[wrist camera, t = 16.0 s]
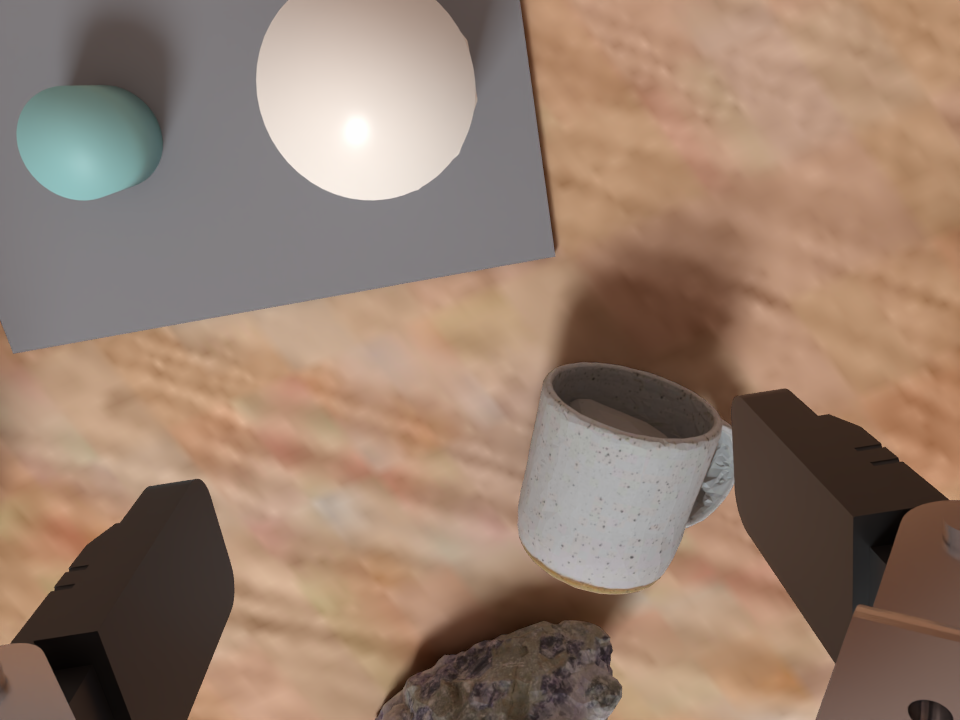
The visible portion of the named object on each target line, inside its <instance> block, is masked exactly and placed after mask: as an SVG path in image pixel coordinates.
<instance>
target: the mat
mask: <svg viewBox="0 0 960 720" xmlns="http://www.w3.org/2000/svg"><path fill="white" fill-rule="evenodd" d="M287 1H288V0H0V321H1V323H2V326H3V328H4V331H5V334H6V336H7V339H8V341H9V344H10V346H11V349H12V351H13V354H14V353H20V352H25V351H31V350H36V349H42V348H47V347H53V346H59V345H64V344H70V343H75V342H81V341H86V340H92V339H98V338H103V337H109V336H114V335H120V334H125V333H131V332H137V331H142V330H148V329H153V328H159V327H165V326H170V325H176V324H181V323H187V322H192V321H198V320H204V319H209V318H215V317H220V316H226V315H231V314H237V313H243V312H248V311H254V310H259V309H265V308H270V307H276V306H282V305H287V304H293V303H298V302H304V301H309V300H315V299H321V298H326V297H332V296H337V295H343V294H348V293H354V292H360V291H365V290H371V289H376V288H382V287H387V286H393V285H399V284H404V283H410V282H415V281H421V280H427V279H432V278H438V277H443V276H449V275H454V274H460V273H466V272H471V271H477V270H482V269H488V268H493V267H499V266H505V265H510V264H516V263H521V262H527V261H532V260H538V259H544V258H549V257H555V251H554V243H553V236H552V229H551V222H550V215H549V207H548V200H547V193H546V186H545V179H544V171H543V164H542V157H541V150H540V143H539V135H538V128H537V121H536V114H535V107H534V99H533V92H532V85H531V78H530V71H529V63H528V56H527V49H526V42H525V35H524V27H523V20H522V13H521V6H520V0H436V1H437V2H438V3H440V5H441V6H442V7H443V8H444V9H445V10H446V11H447V12H448V14H449V15H450V16H451V18H452V19H453V21H454V22H455V24H456V25H457V26H458V28H459V30H460V32H461V33H462V34H463V35H464V37H465V38H466V39H467V41H468V46H469V52H470V55H471V60H472V64H473V68H474V75H475V85H476V93H477V99H478V100H477V103H476V106H475V109H474V113H473V117H472V121H471V125H470V128H469V131H468V133H467V136H466V138H465V141H464V143H463V144H462V147H461V150H460V153H459V155H458V156H456V157H455V158H454V159H453V160H452V161H451V163H450V164H449V165H448V166H447V167H446V168H445V169H444V170H443V171H442V172H441V173H440V174H439V175H438V176H437V177H436V178H434V179H433V180H432V181H430V182H429V183H428V184H426V185H424V186H422V187H421V188H420V189H419V190H416V191H413V192H410V193H408V194H405V195H403V196H399V197H395V198H391V199H384V200H358V199H351V198H346V197H343V196H339V195H336V194H333V193H331V192H329V191H326V190H324V189H322V188H320V187H318V186H317V185H315V184H313V183H311V182H310V181H309V180H307V179H306V178H305V177H303V176H302V175H301V174H299V173H298V172H297V171H296V170H295V169H294V168H293V167H292V166H291V165H290V164H289V163H288V162H287V161H286V159H285V158H284V157H283V156H282V155H281V153H280V152H279V151H278V149H277V147H276V146H275V144H274V143H273V141H272V139H271V137H270V135H269V133H268V131H267V129H266V127H265V124H264V121H263V118H262V115H261V112H260V108H259V103H258V98H257V87H256V72H257V62H258V57H259V52H260V48H261V45H262V42H263V39H264V36H265V34H266V32H267V30H268V28H269V26H270V24H271V22H272V20H273V19H274V17H275V16H276V14H277V13H278V11H279V10H280V9H281V8H282V6H283V5H284V4H285V3H286V2H287ZM74 85H110V86H116V87H119V88H122V89H125V90H127V91H129V92H131V93H133V94H134V95H136V96H137V97H139V98H140V99H141V100H142V101H143V102H144V103H145V104H146V105H147V106H148V107H149V108H150V109H151V111H152V112H153V114H154V115H155V117H156V119H157V121H158V123H159V126H160V129H161V133H162V139H163V150H162V156H161V159H160V162H159V164H158V166H157V168H156V169H155V171H154V172H153V173H152V175H151V176H150V177H149V178H147V179H146V180H145V181H143V182H141V183H140V184H137V185H135V186H132V187H130V188H127V189H124V190H121V191H118V192H115V193H113V194H110V195H107V196H104V197H101V198H98V199H94V200H73V199H69V198H65V197H62V196H60V195H57V194H55V193H53V192H51V191H50V190H48V189H47V188H45V187H44V186H43V185H41V184H40V183H39V182H38V181H37V180H36V179H35V178H34V177H33V176H32V174H31V173H30V172H29V170H28V169H27V167H26V166H25V164H24V162H23V160H22V158H21V155H20V152H19V149H18V145H17V134H16V131H17V123H18V119H19V116H20V114H21V111H22V110H23V108H24V106H25V105H26V104H27V102H28V101H29V100H30V99H31V98H32V97H33V96H35V95H36V94H38V93H39V92H41V91H43V90H45V89H48V88H51V87H55V86H74Z"/></svg>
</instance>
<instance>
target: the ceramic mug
mask: <svg viewBox="0 0 960 720" xmlns="http://www.w3.org/2000/svg"><path fill="white" fill-rule="evenodd" d="M716 447H717V449H716ZM715 450H716V452H715ZM714 452H715V454H714ZM713 455H714V457H713ZM712 457H713V460H712ZM711 460H712V462H711ZM710 463H711V464H710ZM709 465H710V466H709ZM707 470H708V471H707ZM706 473H707V474H706ZM705 475H706V476H705ZM733 485H734V463H733V442H732V426H731V425H730V424H728V423H727V422H726V421H724V420H723V419H721V417H720V415H719V414H718V412H717V410H716V409H715V408H714V407H712V406H711V405H710V404H709V403H708V402H707V401H706V400H704V399H703V398H701V397H700V396H699V395H697V394H696V393H695V392H693V391H691V390H689V389H687V388H685V387H683V386H681V385H679V384H677V383H675V382H673V381H670V380H667V379H665V378H663V377H660V376H658V375H655V374H652V373H649V372H645V371H640V370H636V369H631V368H628V367H625V366H620V365H613V364H605V363H597V362H594V363H589V362H578V363H573V364H566V365H562V366H559V367H557V368H555V369H553V370H552V371H551V372H550V373H549V374H548V375H547V377H546V378H545V380H544V382H543V387H542V391H541V396H540V401H539V407H538V412H537V417H536V421H535V426H534V431H533V436H532V440H531V445H530V450H529V456H528V462H527V466H526V471H525V475H524V480H523V484H522V488H521V493H520V499H519V504H518V531H519V538H520V540H521V543H522V545H523V547H524V549H525V551H526V552H527V553H528V555H529V556H530V557H531V559H532V560H533V561H534V562H535V563H536V564H537V565H538V566H540V567H541V568H542V569H543V570H544V571H546V572H547V573H548V574H550V575H551V576H552V577H554V578H556V579H558V580H560V581H562V582H564V583H566V584H568V585H570V586H573V587H575V588H578V589H582V590H586V591H590V592H594V593H599V594H615V595H616V594H628V593H634V592H638V591H641V590H643V589H645V588H647V587H649V586H651V585H653V584H654V583H655V582H656V581H657V580H659V579H660V577H661V576H662V575H663V573H664V572H665V571H666V569H667V567H668V566H669V564H670V563H671V561H672V559H673V558H674V555H675V553H676V551H677V549H678V547H679V544H680V542H681V540H682V537H683V534H684V530H685V528H688V527H690V526H692V525H694V524H696V523H698V522H700V521H703V520H704V519H705V518H707V517H708V516H709V515H710V514H711V513H712V512H713V511H715V510H716V508H717V507H718V506H719V505H720V504H721V503H722V502H723V501H724V499H725V498H726V496H727V495H728V494H729V492H730V491H731V489H732V487H733Z"/></svg>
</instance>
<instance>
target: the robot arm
mask: <svg viewBox="0 0 960 720" xmlns="http://www.w3.org/2000/svg"><path fill="white" fill-rule="evenodd" d="M731 421H732V442H733V463H734V484H735V496H736V502H737V507H738V511H739V514H740V517H741V520H742V523H743V525H744V527H745V530H746V531H747V533H748V534H749V536H750V537H751V539H752V540H753V542H754V543H755V545H756V546H757V548H758V549H759V551H760V552H761V554H762V555H763V557H764V558H765V560H766V561H767V563H768V564H769V566H770V567H771V569H772V570H773V572H774V573H775V575H776V576H777V578H778V579H779V581H780V582H781V584H782V585H783V587H784V588H785V589H786V591H787V592H788V594H789V595H790V597H791V598H792V600H793V601H794V603H795V604H796V606H797V607H798V609H799V610H800V612H801V613H802V615H803V616H804V618H805V619H806V621H807V622H808V624H809V625H810V627H811V628H812V630H813V631H814V633H815V634H816V636H817V637H818V639H819V640H820V642H821V643H822V645H823V646H824V647H825V649H826V650H827V652H828V653H829V655H830V656H831V658H832V659H833V661H834V662H835V667H834V669H833V672H832V675H831V678H830V681H829V684H828V686H827V689H826V692H825V695H824V698H823V700H822V703H821V706H820V709H819V712H818V714H817V717H816V720H960V500H949V499H948V498H946V497H945V496H944V495H943V494H941V493H940V492H939V491H938V490H937V489H935V488H934V487H933V486H932V485H931V484H929V483H928V482H927V481H926V480H925V479H923V478H922V477H921V476H920V475H918V474H917V473H916V472H915V471H914V470H912V469H911V468H910V467H909V466H908V465H906V464H905V463H904V462H899V459H898V457H897V456H896V455H894V454H893V453H892V452H891V451H889V450H888V449H887V448H886V447H883V448H882V446H881V443H880V442H879V441H877V440H876V439H875V438H874V437H873V436H871V435H870V434H869V433H868V432H867V431H865V430H864V429H863V428H862V427H860V426H858V425H855V424H853V423H850V422H847V421H845V420H842V419H840V418H837V417H835V416H832V415H830V414H827V415H821V416H818V415H816V414H815V413H814V412H813V411H812V410H811V409H810V408H809V407H807V406H806V405H805V404H804V403H803V402H802V401H801V400H800V399H799V398H797V397H796V396H795V395H794V394H793V393H792V392H791V391H789V390H788V389H779V390H772V391H766V392H759V393H753V394H747V395H740V396H736V397H734V399H733V402H732V407H731ZM54 588H55V591H52V592H50V593H49V594H48V596H47V597H46V598H45V599H44V601H43V602H42V603H41V605H40V606H39V607H38V608H37V610H36V611H35V612H34V614H33V615H32V616H31V617H30V619H29V620H28V621H27V623H26V624H25V625H24V627H23V628H22V629H21V630H20V632H19V633H18V634H17V636H16V637H15V638H14V639H13V641H12V642H11V643H10V644H7V645H1V646H0V720H187V719H188V716H189V714H190V711H191V709H192V706H193V704H194V701H195V699H196V696H197V694H198V691H199V689H200V686H201V684H202V681H203V679H204V677H205V674H206V672H207V669H208V667H209V664H210V662H211V659H212V657H213V654H214V652H215V649H216V647H217V644H218V642H219V639H220V637H221V635H222V632H223V630H224V627H225V625H226V622H227V620H228V617H229V615H230V612H231V609H232V606H233V601H234V577H233V570H232V566H231V563H230V559H229V556H228V553H227V549H226V546H225V543H224V539H223V536H222V533H221V529H220V526H219V523H218V519H217V516H216V513H215V510H214V506H213V503H212V500H211V496H210V493H209V491H208V489H207V487H206V485H205V484H204V482H203V481H202V480H200V479H194V480H187V481H181V482H174V483H168V484H161V485H155V486H149V487H147V488H146V489H145V490H144V491H143V493H142V494H141V495H140V497H139V498H138V499H137V501H136V502H135V503H134V505H133V506H132V508H131V509H130V510H129V512H128V513H127V514H126V516H125V517H124V518H123V520H122V521H121V522H120V523H117V524H114V525H113V526H112V527H110V528H109V529H108V530H106V531H105V532H104V533H102V534H101V535H100V536H98V537H97V538H96V539H94V540H93V541H92V542H90V543H89V544H88V545H86V546H85V548H84V549H83V550H82V552H81V553H80V554H79V556H78V557H77V558H76V559H75V561H74V562H73V563H72V565H71V566H70V567H69V572H65V574H64V575H63V576H62V577H61V579H60V580H59V581H58V583H57V584H56V585H55V587H54Z"/></svg>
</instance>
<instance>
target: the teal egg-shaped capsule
mask: <svg viewBox="0 0 960 720" xmlns="http://www.w3.org/2000/svg"><path fill="white" fill-rule="evenodd" d="M16 134H17V145H18V149H19V152H20V155H21V158H22V160H23V162H24V164H25V166H26V167H27V169H28V170H29V172H30V173H31V174H32V176H33V177H34V178H35V179H36V180H37V181H38V182H39V183H40V184H41V185H43V186H44V187H45V188H47V189H48V190H50V191H51V192H53V193H55V194H57V195H60V196H62V197H65V198H69V199H73V200H94V199H98V198H101V197H104V196H107V195H110V194H113V193H115V192H118V191H121V190H124V189H127V188H130V187H132V186H135V185H137V184H140V183H141V182H143V181H145V180H146V179H147V178H149V177H150V176H151V175H152V173H153V172H154V171H155V169H156V168H157V166H158V164H159V162H160V159H161V156H162V150H163V139H162V133H161V129H160V126H159V123H158V121H157V119H156V117H155V115H154V114H153V112H152V111H151V109H150V108H149V107H148V106H147V105H146V104H145V103H144V102H143V101H142V100H141V99H140V98H139V97H137V96H136V95H134V94H133V93H131V92H129V91H127V90H125V89H122V88H119V87H116V86H110V85H74V86H55V87H51V88H48V89H45V90H43V91H41V92H39V93H38V94H36V95H35V96H33V97H32V98H31V99H30V100H29V101H28V102H27V104H26V105H25V106H24V108H23V110H22V111H21V114H20V116H19V119H18V123H17V131H16Z"/></svg>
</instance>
